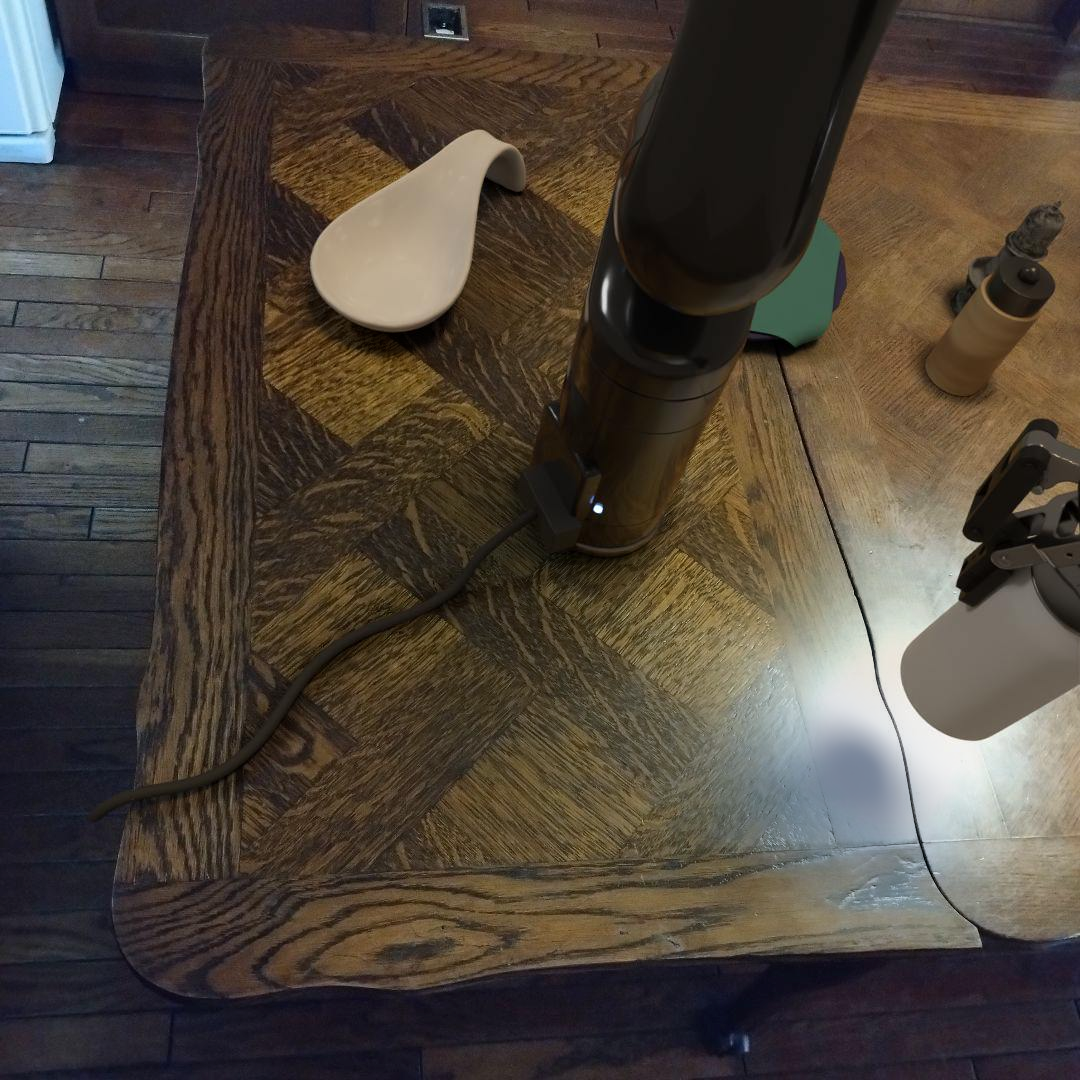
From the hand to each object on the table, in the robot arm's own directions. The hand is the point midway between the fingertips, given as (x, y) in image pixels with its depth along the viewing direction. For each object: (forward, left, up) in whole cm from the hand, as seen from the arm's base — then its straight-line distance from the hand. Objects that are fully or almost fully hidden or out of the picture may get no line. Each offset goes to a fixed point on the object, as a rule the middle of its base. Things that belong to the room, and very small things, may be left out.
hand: (1035, 626), depth 48 cm
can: (0, 0, -8) cm, 8 cm away
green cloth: (+17, +45, -19) cm, 52 cm away
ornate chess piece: (+34, +30, -19) cm, 49 cm away
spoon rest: (-11, +50, -19) cm, 54 cm away
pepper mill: (+26, +25, -19) cm, 41 cm away
